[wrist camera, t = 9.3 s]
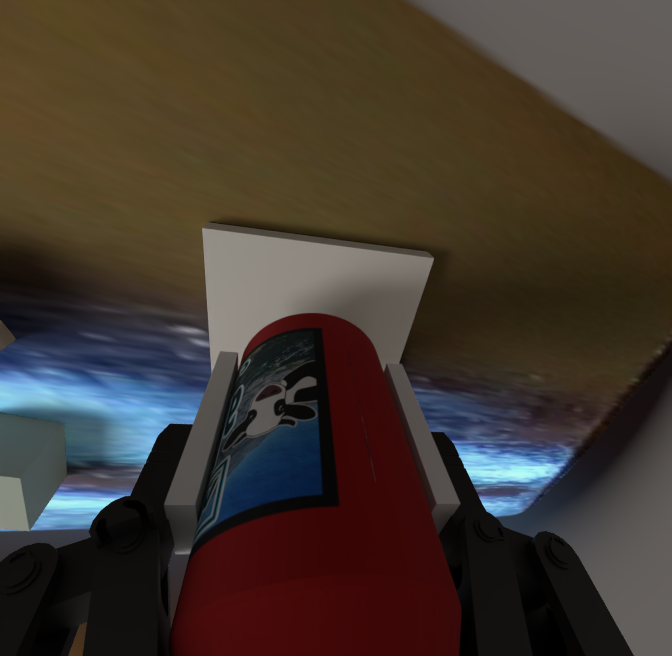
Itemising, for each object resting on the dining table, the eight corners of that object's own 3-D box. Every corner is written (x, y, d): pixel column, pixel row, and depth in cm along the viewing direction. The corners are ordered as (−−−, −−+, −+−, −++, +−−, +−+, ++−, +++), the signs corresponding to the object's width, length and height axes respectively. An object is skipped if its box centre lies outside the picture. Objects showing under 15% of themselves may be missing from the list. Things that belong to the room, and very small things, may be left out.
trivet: (217, 393, 20) (213, 404, 20) (208, 222, 15) (202, 228, 14) (379, 401, 22) (382, 412, 21) (427, 251, 16) (434, 258, 16)
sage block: (4, 465, 23) (-49, 524, 19) (-8, 410, 20) (-72, 467, 16) (68, 473, 24) (29, 531, 20) (65, 421, 21) (20, 478, 18)
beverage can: (260, 284, 14) (141, 744, 3) (398, 324, 15) (583, 703, 5) (230, 394, 17) (123, 796, 7) (347, 417, 19) (400, 761, 8)
